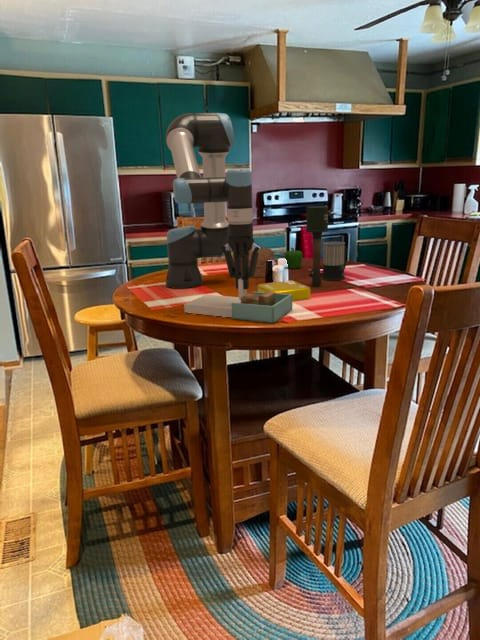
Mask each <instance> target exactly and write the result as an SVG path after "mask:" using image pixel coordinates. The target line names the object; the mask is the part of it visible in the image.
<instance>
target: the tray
mask: <svg viewBox="0 0 480 640" xmlns="http://www.w3.org/2000/svg"><path fill="white" fill-rule="evenodd" d="M263 293H265V292H258V291H252V294H256V295H261V294H263ZM291 311H293V301H292V294H278V293H275V305H273V306H265V305H254V304H242V303H232V318H231V319H232V320H235V319H240V320H239V321H245V320H249V321H248V322H255V321H258V322H257V323H265V322H267V323H266V324H275V323H276V322H277V320H278V321H279V320H280V319H282V318H283V317H285V316H286V315H287V314H289V313H290V312H291Z"/></svg>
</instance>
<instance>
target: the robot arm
mask: <svg viewBox="0 0 480 640" xmlns="http://www.w3.org/2000/svg"><path fill="white" fill-rule="evenodd" d="M234 135H235V134H234V128H233V124H232V120H231V118H230V116H229V115H228V114H227V113H222V112H221V113H220V112H204V113H203V112H201V113H198V112H195V113H192V112H189V113H188V112H187V113H184V114H181V115H178V116H177V117H176V118H174V120H172V121H171V123H169V125H168V127H167V130H166V134H165V141H166V142H165V143H166V145H167V147H168V149H169V151H171V156H172V160H173V165H174V169H175V173H176V174H175V175H176V177H177V178H175V179H173V182H172V190H173V199H174V202H175V203H176V204H185V205H190V204H203V210H204V211H203V213H204V214H203V215H204V217H203V221H202V222H201V223H200V228H196V226H195V225H184V226H180V227H179V226H178V227H175V228H172V229H169V230H168V231H167V232H166V245H167V259H168V269H167V273H166V277H165V286H166V287H167V286H168V288H170V287H174V288H173V289H189V287H192V288H197V287H199V285H200V286H202V285H204V281H203V280H204V279H203V276H202V272H201V271H200V268H199V265H198V259H206V258H221V257H224V258H225V263H226V266H227V270H228V274H229V276H230V277H232V278H234V280H235V288H236V290H238V297H239V300H241V297H243V296H245V295H247V294H248V291H247V290H248V289H249V287H250V283H249V281H250V280H249V279H251V278H254V277H253V276H254V274H255V269H256V265H257V260H258V255H259V252H260V251H261V249H262V246H261V245H257V244H256V243H255V240H254V224H253V223H252V222H253V220H254V219H253V217H254V215H253V178H252V177H253V176H252V170H250V169H249V168H242V169H241V168H239V169H237V168H235V169H234V168H233V169H228V170H227V171H226V157H227V156H228V154H229V153H230V148H232V147H234V145H235V144H234V143H235V142H234V141H235V137H234ZM194 148H197V151H198V154H199V155H200V157H202V175H201V172H200V171H201V170H200V168H199V165H198V161H197V158H196V157H197V156H196V153H195V151H194V150H195V149H194ZM226 205H227V206H226ZM251 248H252V251H253V253H252V256H251V261H250V266H249V251H250V250H251ZM232 253H233V254H232ZM233 257H234V261H233ZM241 257H242V269H241ZM196 286H197V287H196Z"/></svg>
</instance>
